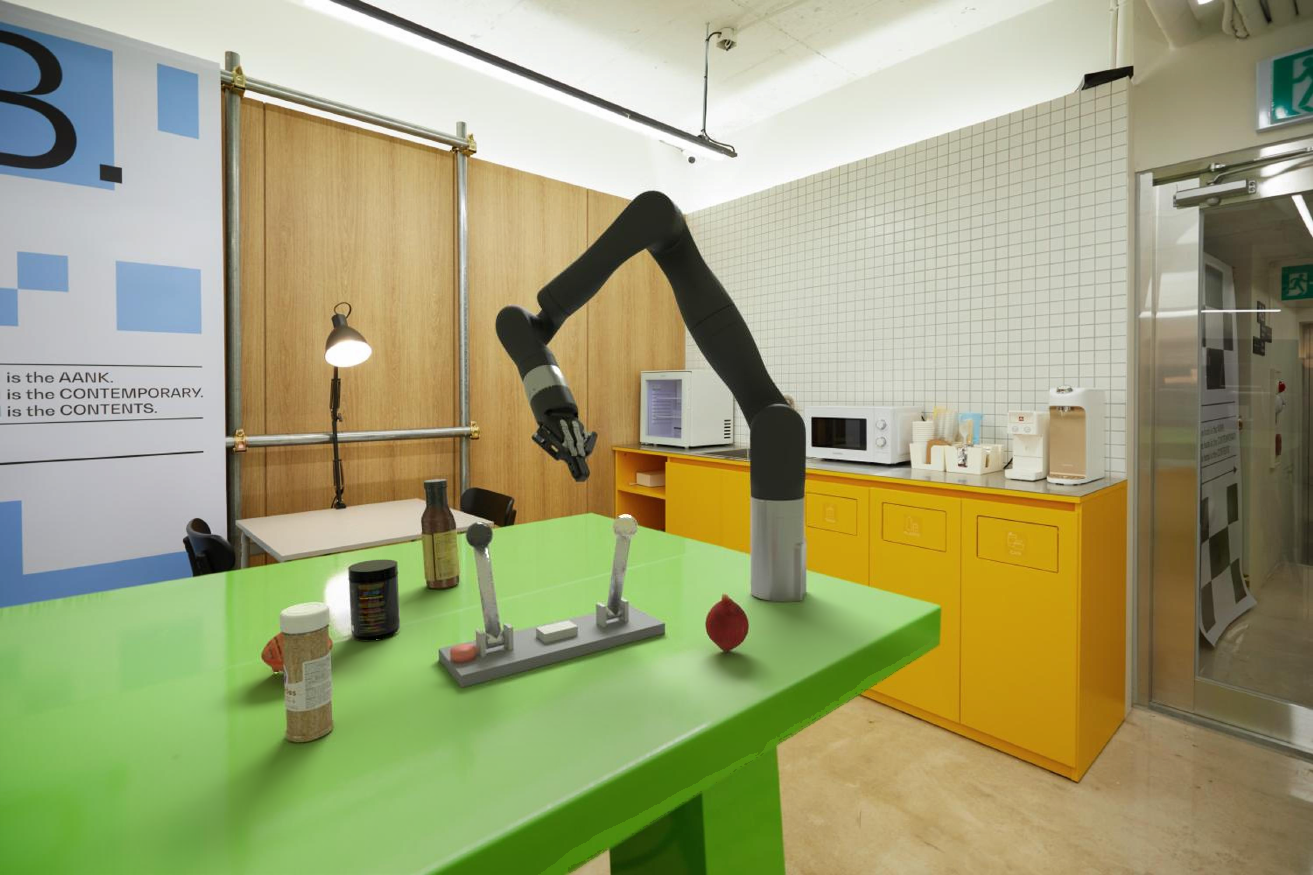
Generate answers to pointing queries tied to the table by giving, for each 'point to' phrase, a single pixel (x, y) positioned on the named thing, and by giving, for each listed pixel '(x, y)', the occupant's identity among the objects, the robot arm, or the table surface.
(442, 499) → the sauce bottle
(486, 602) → the silver metal rod
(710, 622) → the onion
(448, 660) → the switch panel
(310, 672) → the sprinkles bottle
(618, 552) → the metal lever
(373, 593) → the supplement container
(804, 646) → the table surface
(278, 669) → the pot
